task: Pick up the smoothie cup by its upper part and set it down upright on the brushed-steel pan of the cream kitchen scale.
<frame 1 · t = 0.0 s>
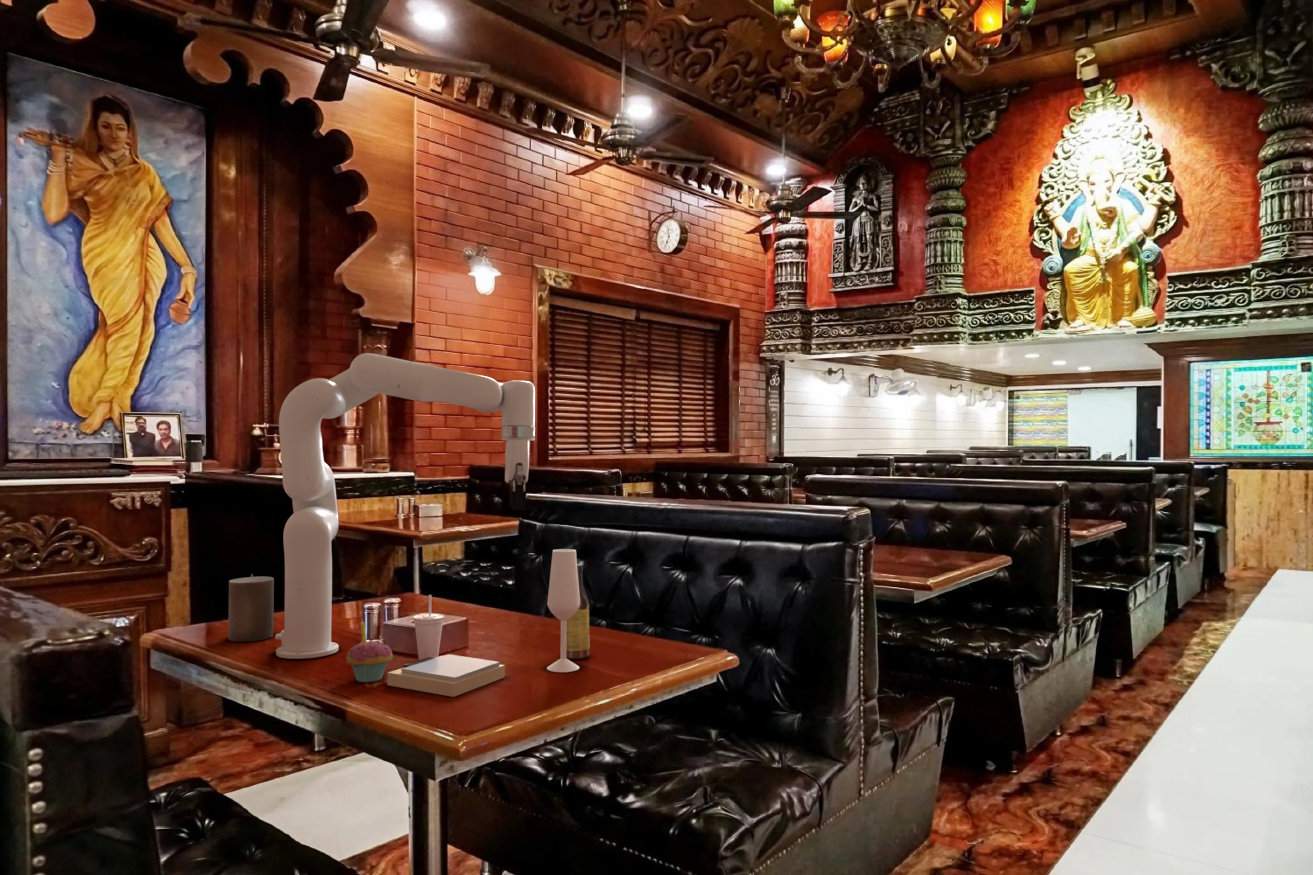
hand: (517, 508, 192), 31 cm above the table, tool pointing down, fingers open, 9 cm apart
champagne flute: (563, 668, 170), on the table
scale: (447, 681, 159), on the table
smoothie: (428, 663, 173), on the table
pillar candle: (250, 638, 196), on the table
cupcake: (369, 679, 161), on the table
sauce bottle: (574, 657, 179), on the table
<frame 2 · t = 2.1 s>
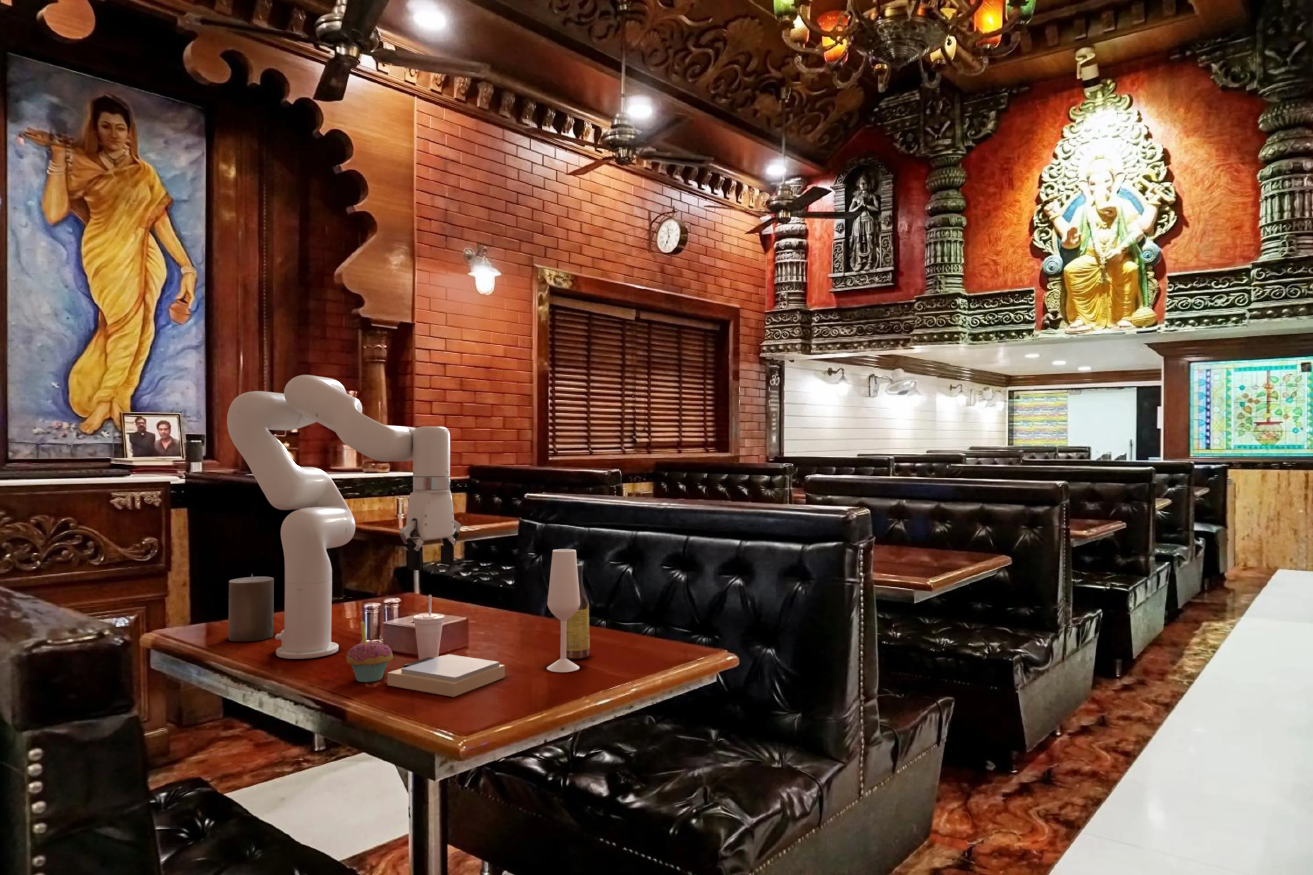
hand: (431, 566, 174), 20 cm above the table, tool pointing down, fingers open, 9 cm apart
nothing on the table moved.
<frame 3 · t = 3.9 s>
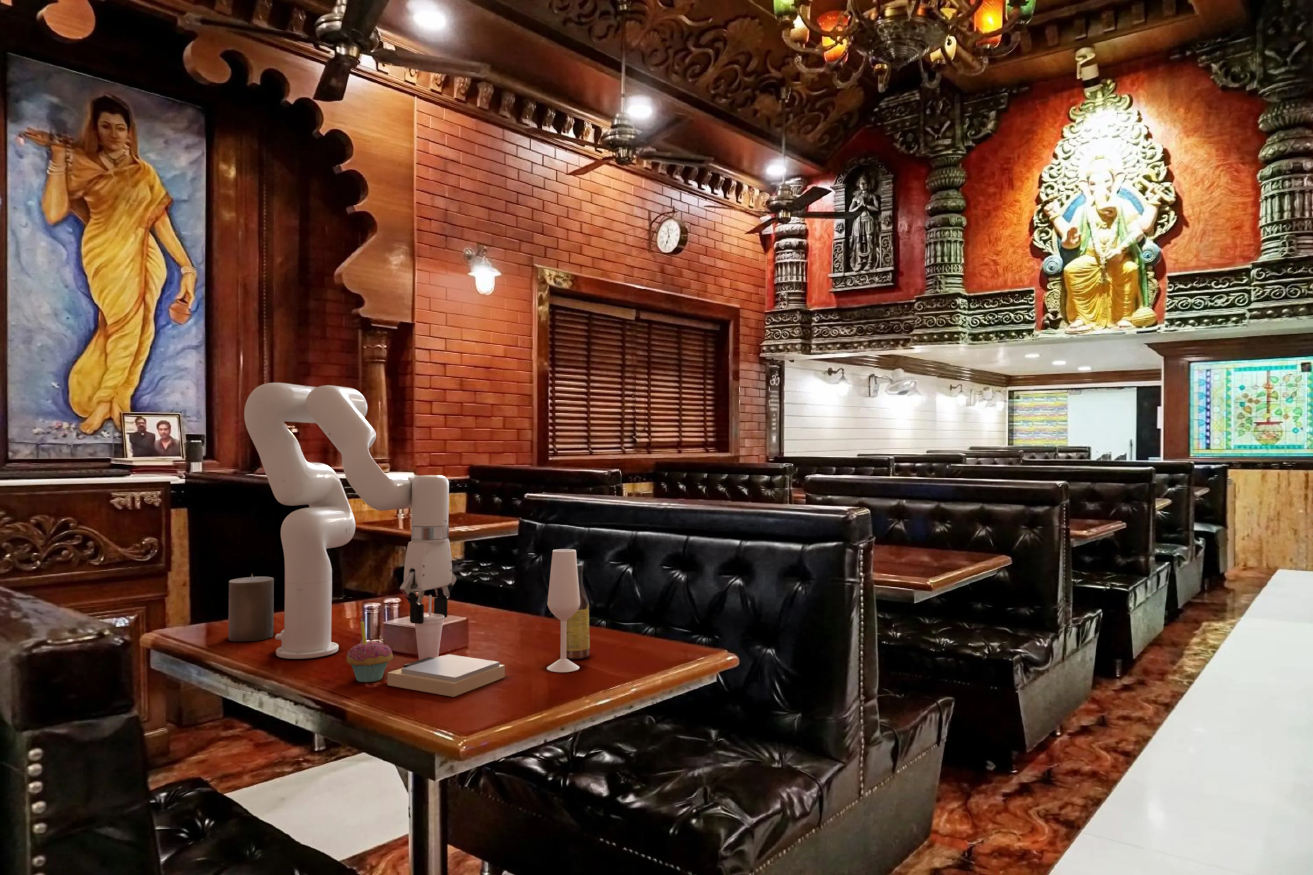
hand: (428, 619, 174), 9 cm above the table, tool pointing down, fingers closed on smoothie, 6 cm apart
smoothie: (428, 663, 173), on the table, touching gripper
everything else where it was.
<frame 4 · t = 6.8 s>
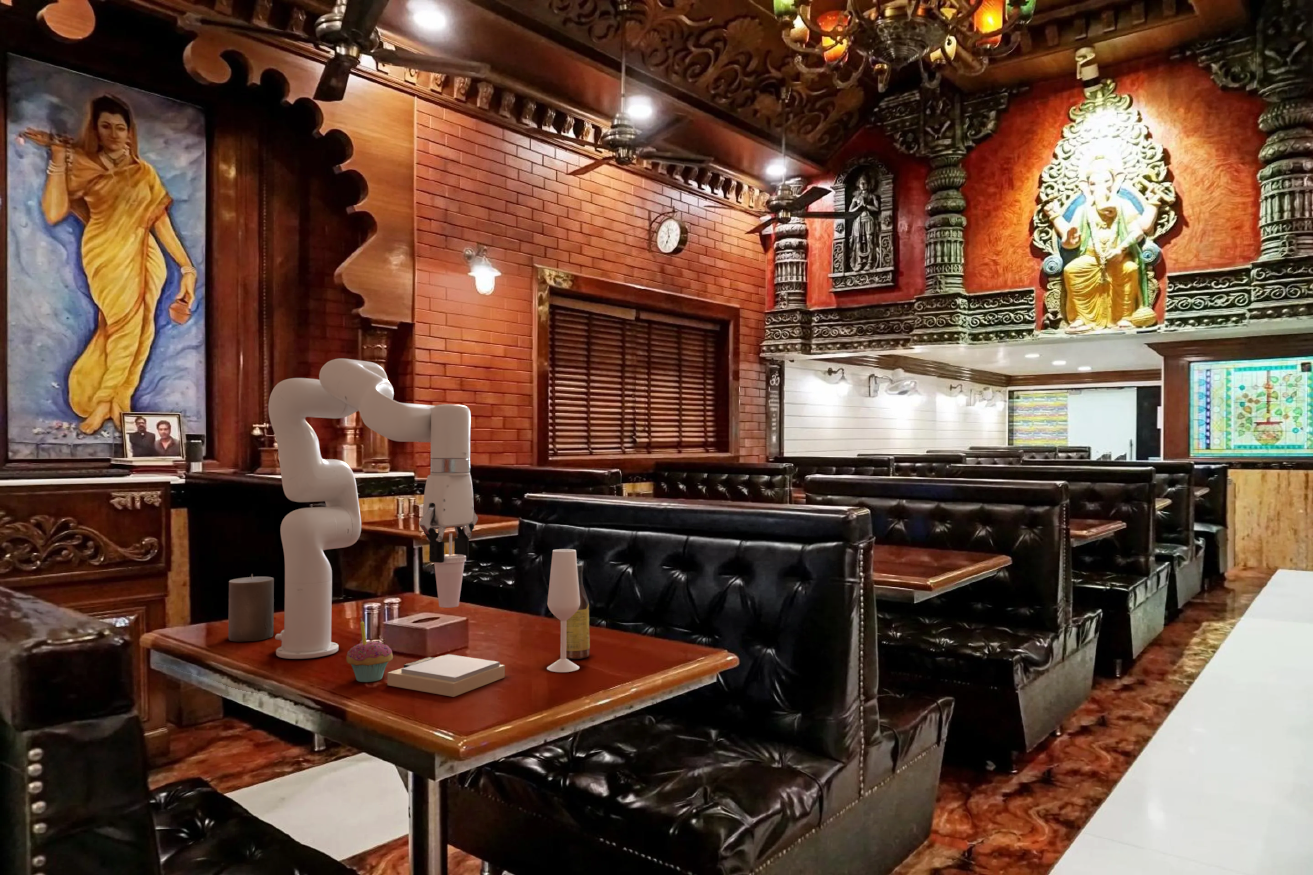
hand: (449, 559, 161), 23 cm above the table, tool pointing down, fingers closed on smoothie, 6 cm apart
smoothie: (448, 606, 161), point 14 cm above the table, touching gripper
everything else where it was.
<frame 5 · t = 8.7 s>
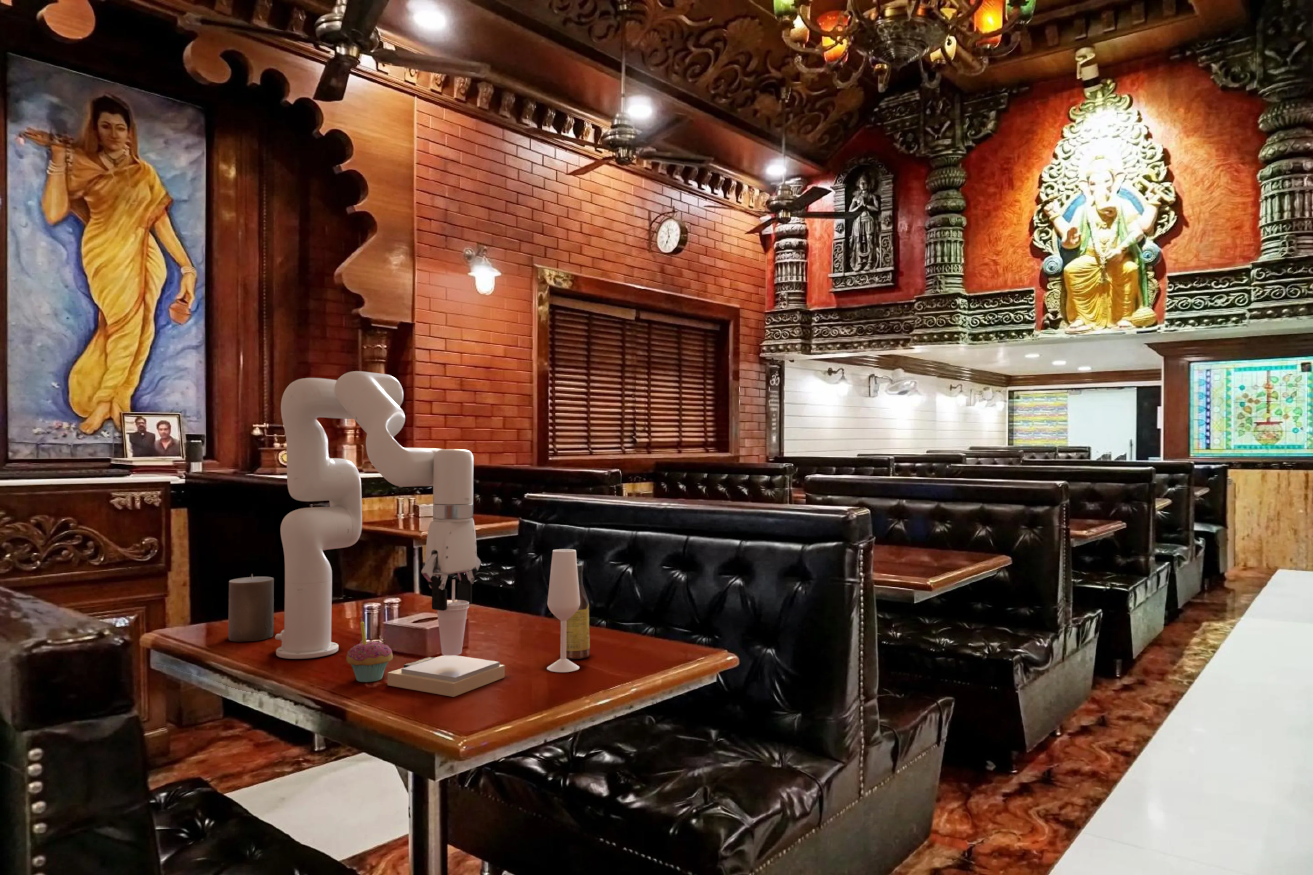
hand: (452, 605, 159), 15 cm above the table, tool pointing down, fingers closed on smoothie, 6 cm apart
smoothie: (451, 654, 159), point 5 cm above the table, touching gripper
everything else where it was.
when the fingers open (12 cm above the table, at t = 9.9 s): smoothie stays where it is, resting on scale.
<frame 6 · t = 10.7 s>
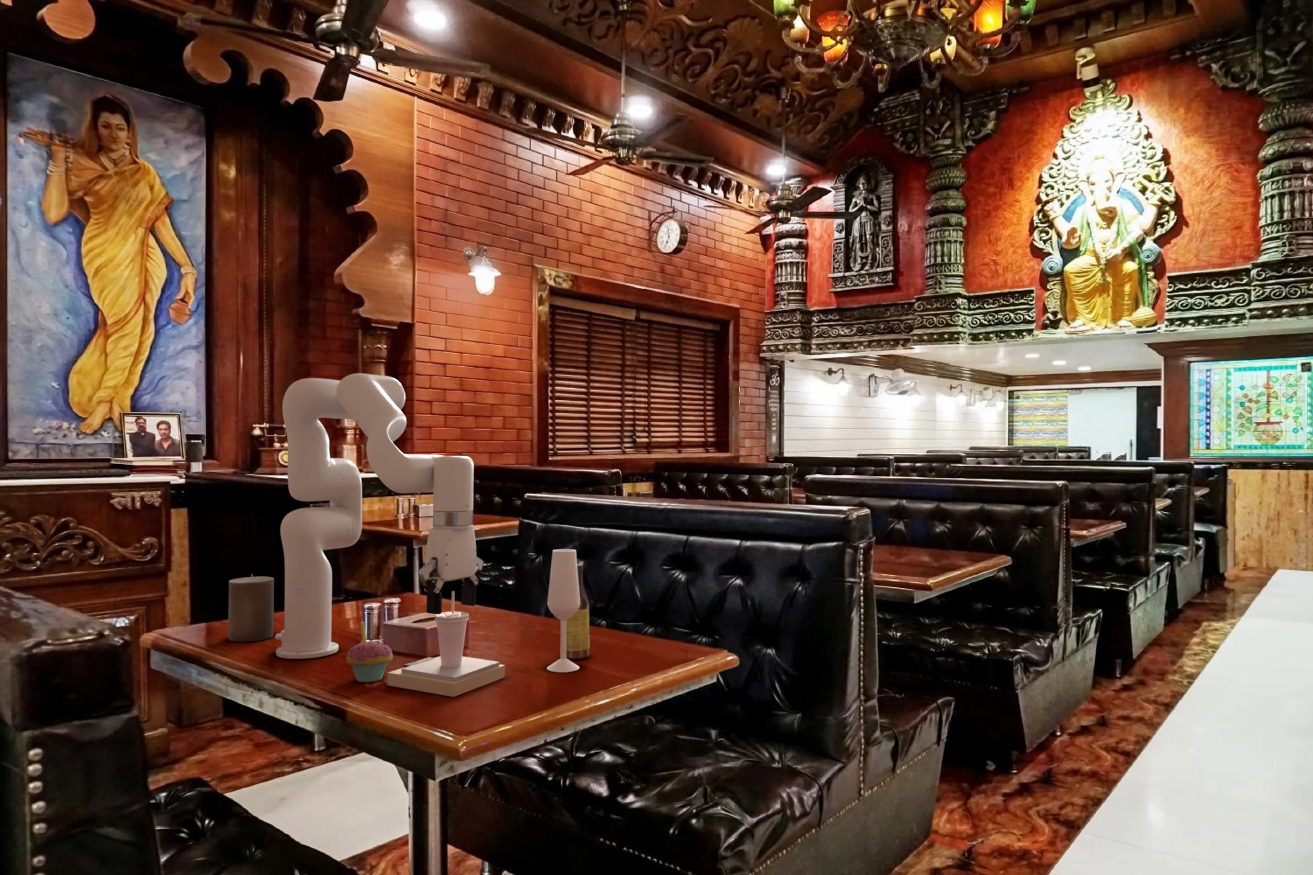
hand: (451, 609, 159), 14 cm above the table, tool pointing down, fingers open, 9 cm apart
smoothie: (451, 665, 159), point 3 cm above the table, touching scale
everything else where it was.
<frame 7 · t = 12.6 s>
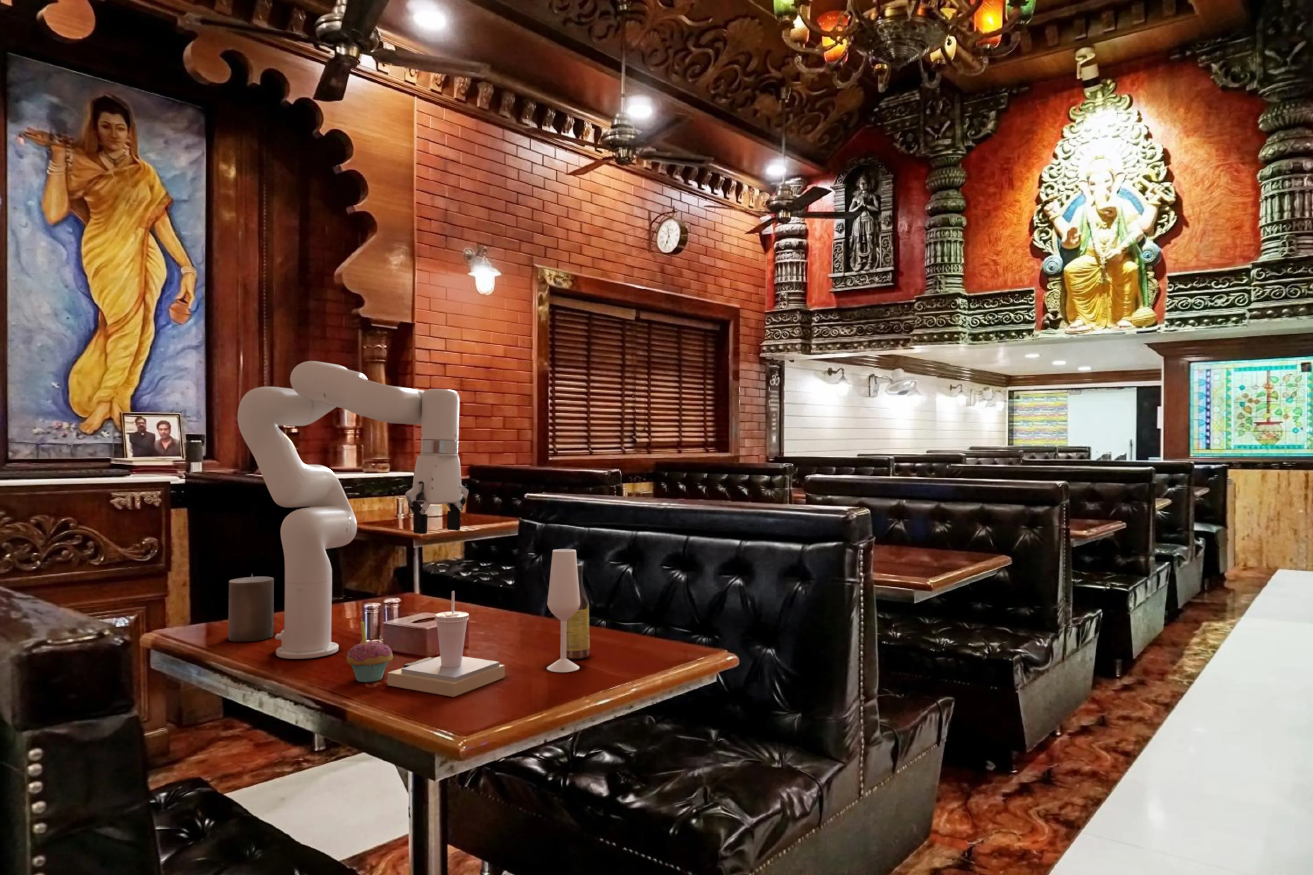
hand: (437, 531, 171), 28 cm above the table, tool pointing down, fingers open, 9 cm apart
nothing on the table moved.
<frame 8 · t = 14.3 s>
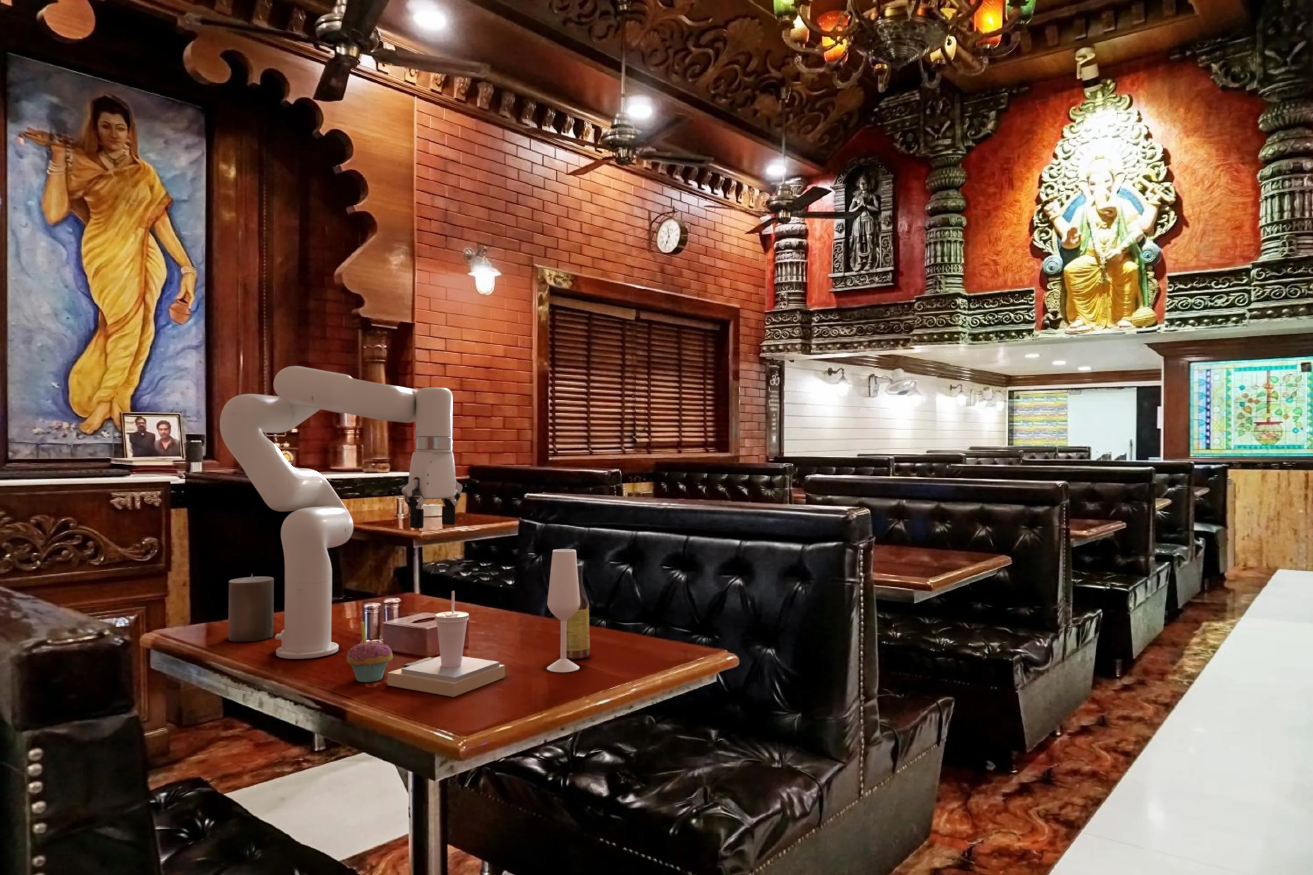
hand: (432, 526, 176), 28 cm above the table, tool pointing down, fingers open, 9 cm apart
nothing on the table moved.
at the end: smoothie inside the target area on the scale (0.1 cm from its centre), point 3.0 cm above the scale's base; smoothie tilted 0°; the gripper is holding nothing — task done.
